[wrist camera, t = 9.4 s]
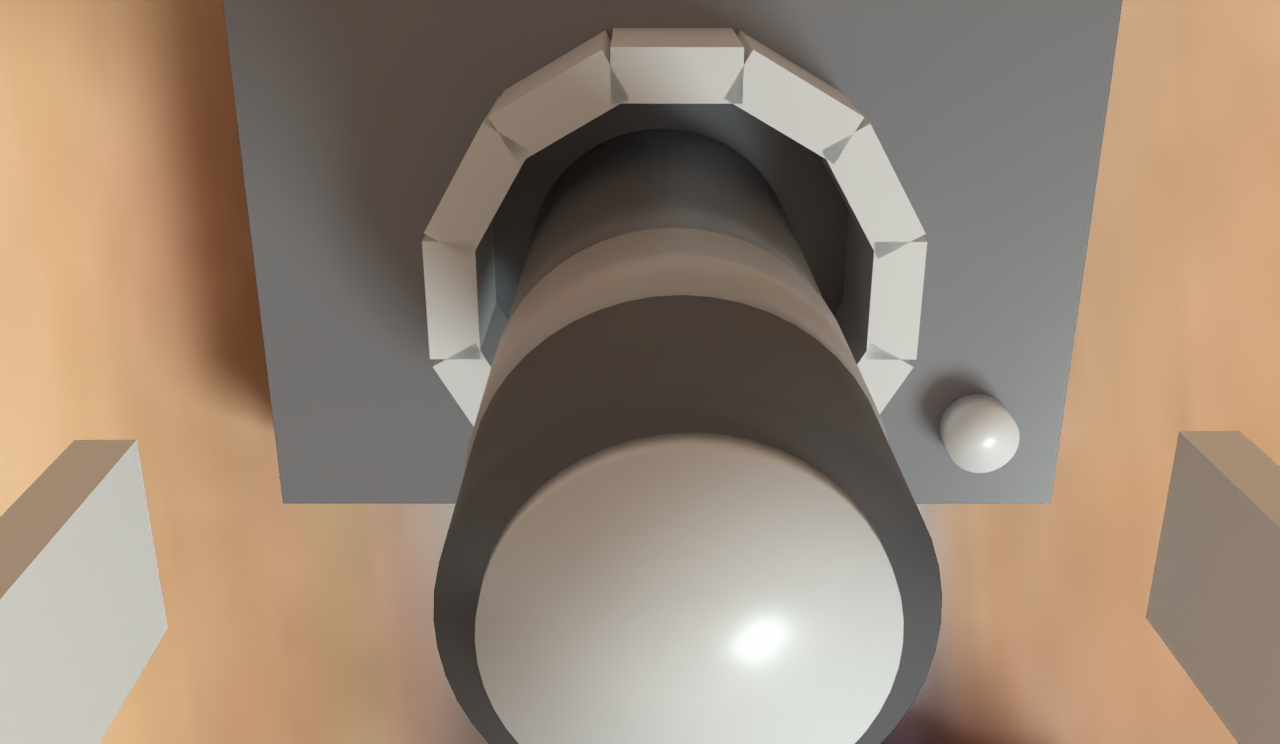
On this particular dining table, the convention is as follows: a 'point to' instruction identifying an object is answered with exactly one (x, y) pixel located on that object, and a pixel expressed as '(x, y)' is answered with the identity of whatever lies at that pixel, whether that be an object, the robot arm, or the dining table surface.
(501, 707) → the lens
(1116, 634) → the dining table surface
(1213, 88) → the dining table surface
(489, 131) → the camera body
